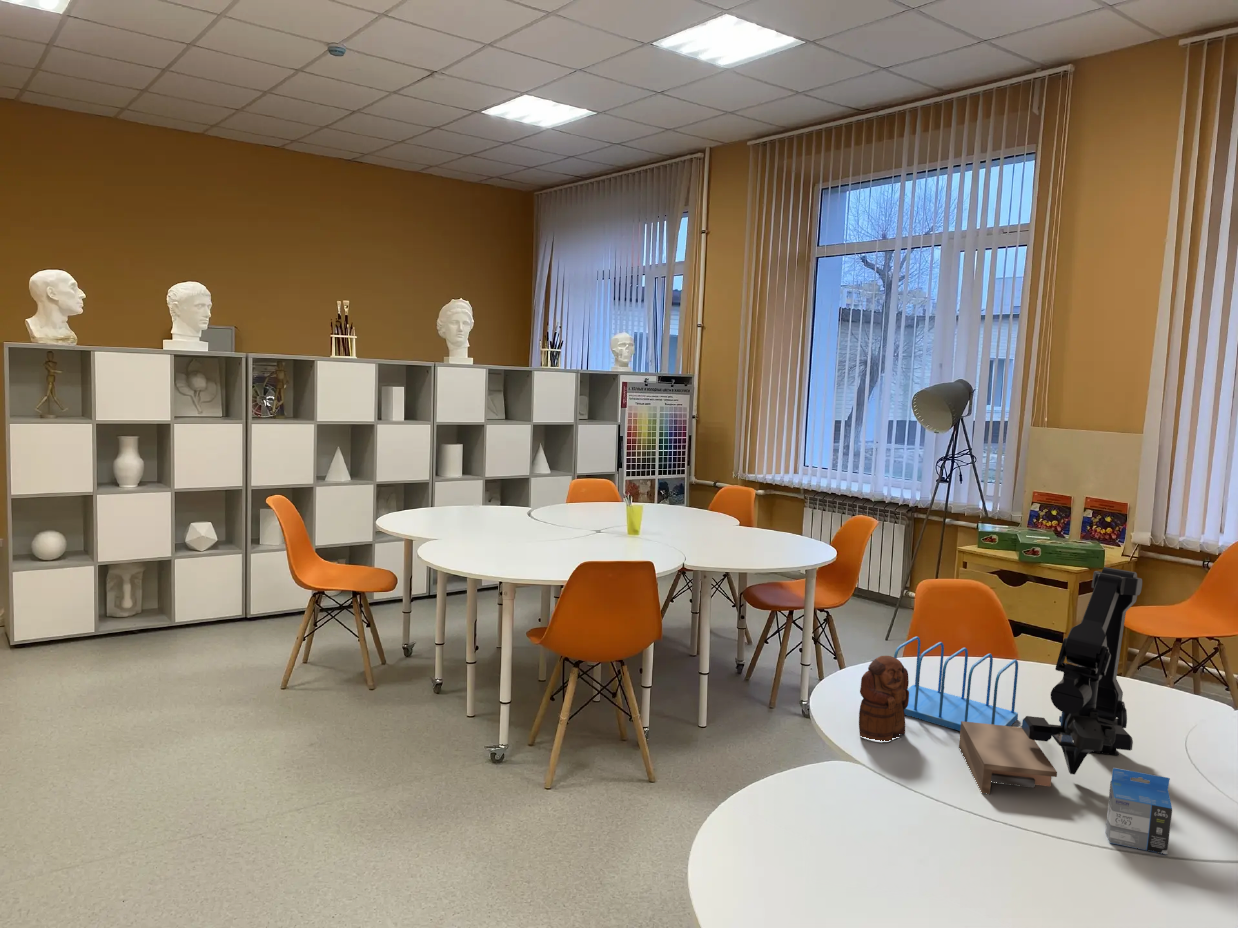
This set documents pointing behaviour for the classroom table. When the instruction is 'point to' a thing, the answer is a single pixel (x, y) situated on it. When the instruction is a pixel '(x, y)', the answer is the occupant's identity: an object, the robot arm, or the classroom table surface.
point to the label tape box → (1139, 811)
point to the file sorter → (952, 707)
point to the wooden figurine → (883, 699)
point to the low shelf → (1002, 754)
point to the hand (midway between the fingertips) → (1071, 773)
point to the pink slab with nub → (1038, 778)
